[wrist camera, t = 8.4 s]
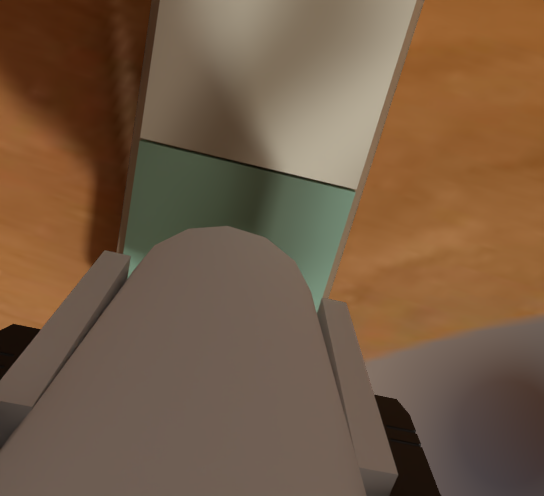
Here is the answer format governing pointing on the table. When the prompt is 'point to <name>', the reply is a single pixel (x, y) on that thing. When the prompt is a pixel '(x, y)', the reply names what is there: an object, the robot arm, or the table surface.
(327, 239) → the cream and green board
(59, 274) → the table surface
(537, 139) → the table surface
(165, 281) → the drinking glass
